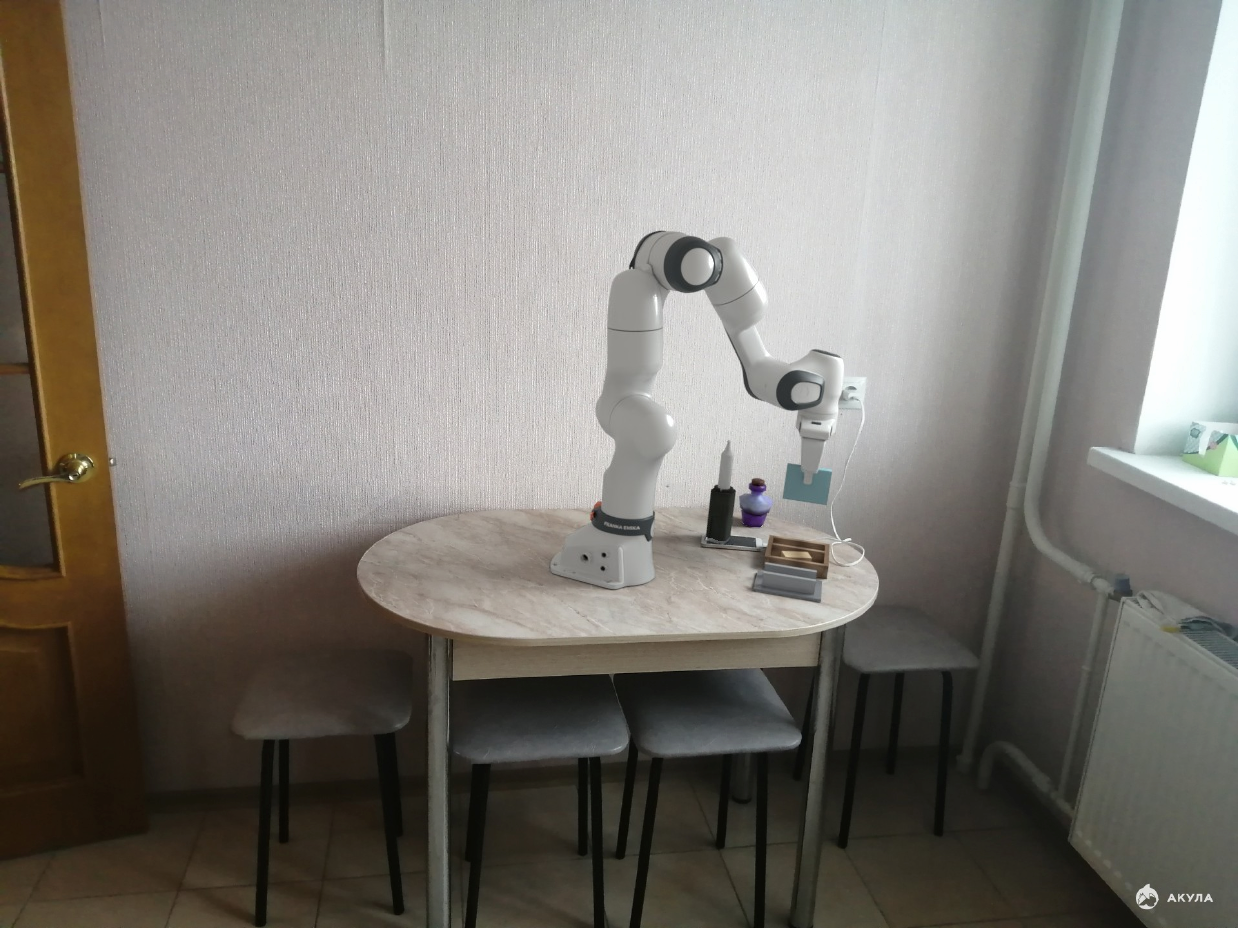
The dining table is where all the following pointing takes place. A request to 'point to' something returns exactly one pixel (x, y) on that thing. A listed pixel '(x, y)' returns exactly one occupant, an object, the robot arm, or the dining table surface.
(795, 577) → the slate stand
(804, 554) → the upper offcut
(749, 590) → the dining table surface
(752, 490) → the potion bottle
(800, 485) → the teal flat block
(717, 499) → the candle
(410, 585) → the dining table surface
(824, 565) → the rack
